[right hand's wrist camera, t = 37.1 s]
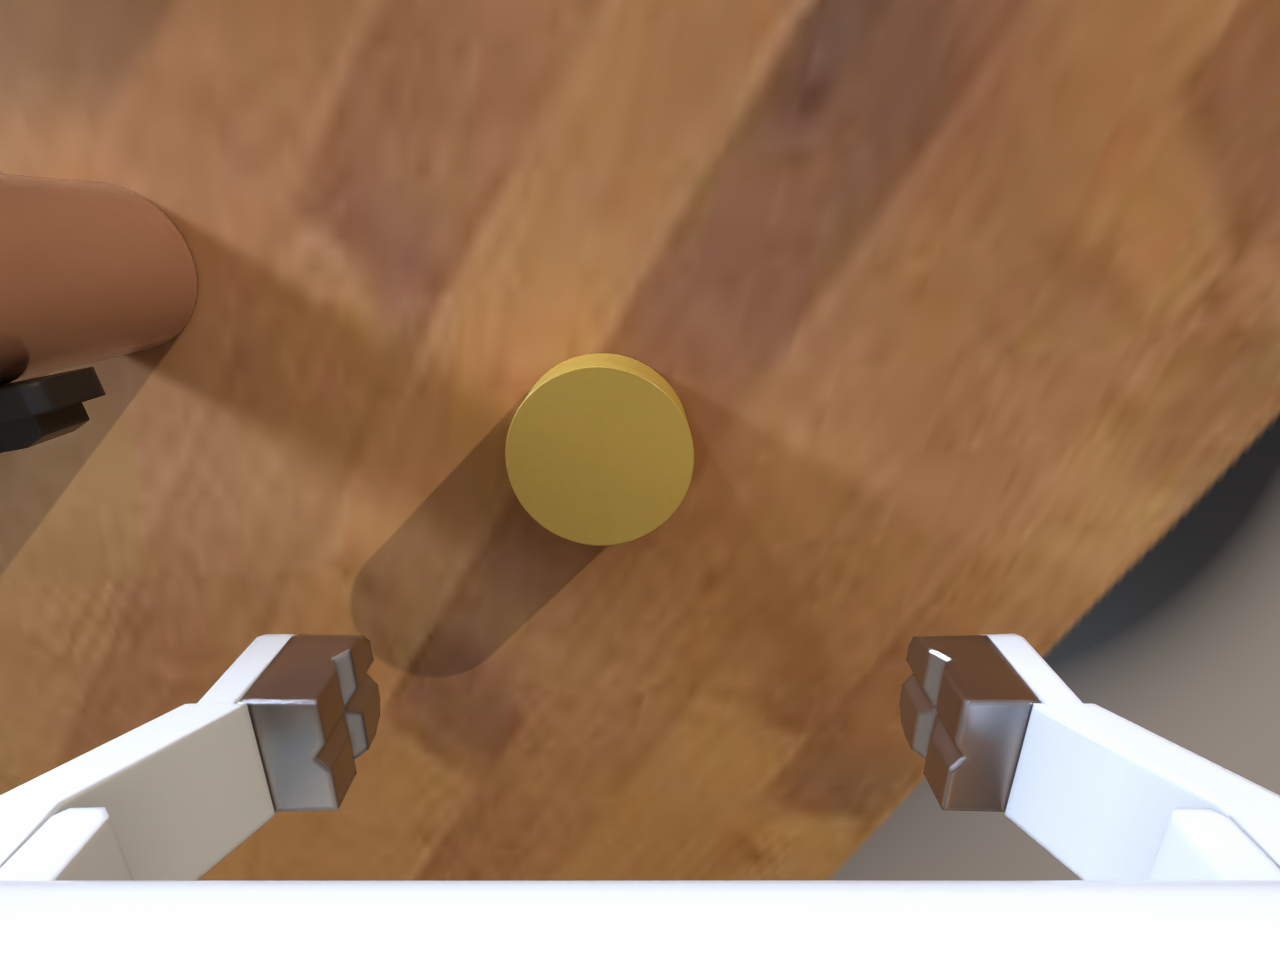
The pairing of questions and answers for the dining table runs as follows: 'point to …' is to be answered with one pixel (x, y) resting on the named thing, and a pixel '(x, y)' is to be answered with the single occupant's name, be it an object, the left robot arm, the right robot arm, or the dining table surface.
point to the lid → (600, 450)
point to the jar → (86, 275)
